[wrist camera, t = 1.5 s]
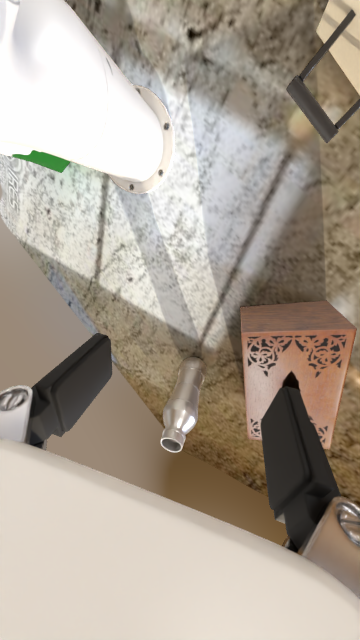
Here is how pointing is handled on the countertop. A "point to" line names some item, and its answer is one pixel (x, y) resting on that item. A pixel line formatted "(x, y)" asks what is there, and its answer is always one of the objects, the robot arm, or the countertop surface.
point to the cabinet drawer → (349, 52)
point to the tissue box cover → (296, 360)
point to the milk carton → (34, 156)
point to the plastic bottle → (183, 404)
